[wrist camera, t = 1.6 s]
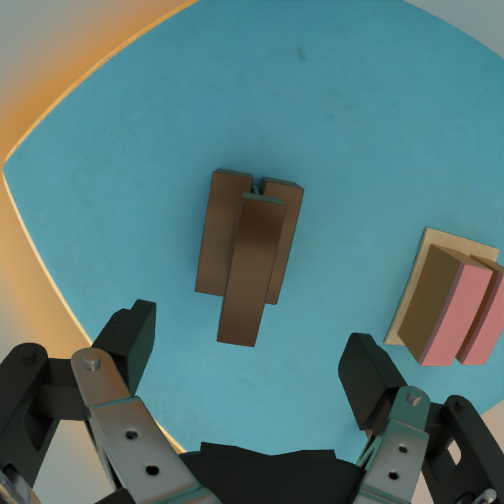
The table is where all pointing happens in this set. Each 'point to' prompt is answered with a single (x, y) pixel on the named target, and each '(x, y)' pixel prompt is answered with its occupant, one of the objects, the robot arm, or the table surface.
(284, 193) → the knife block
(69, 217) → the table surface
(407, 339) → the pink slotted holder
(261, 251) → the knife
